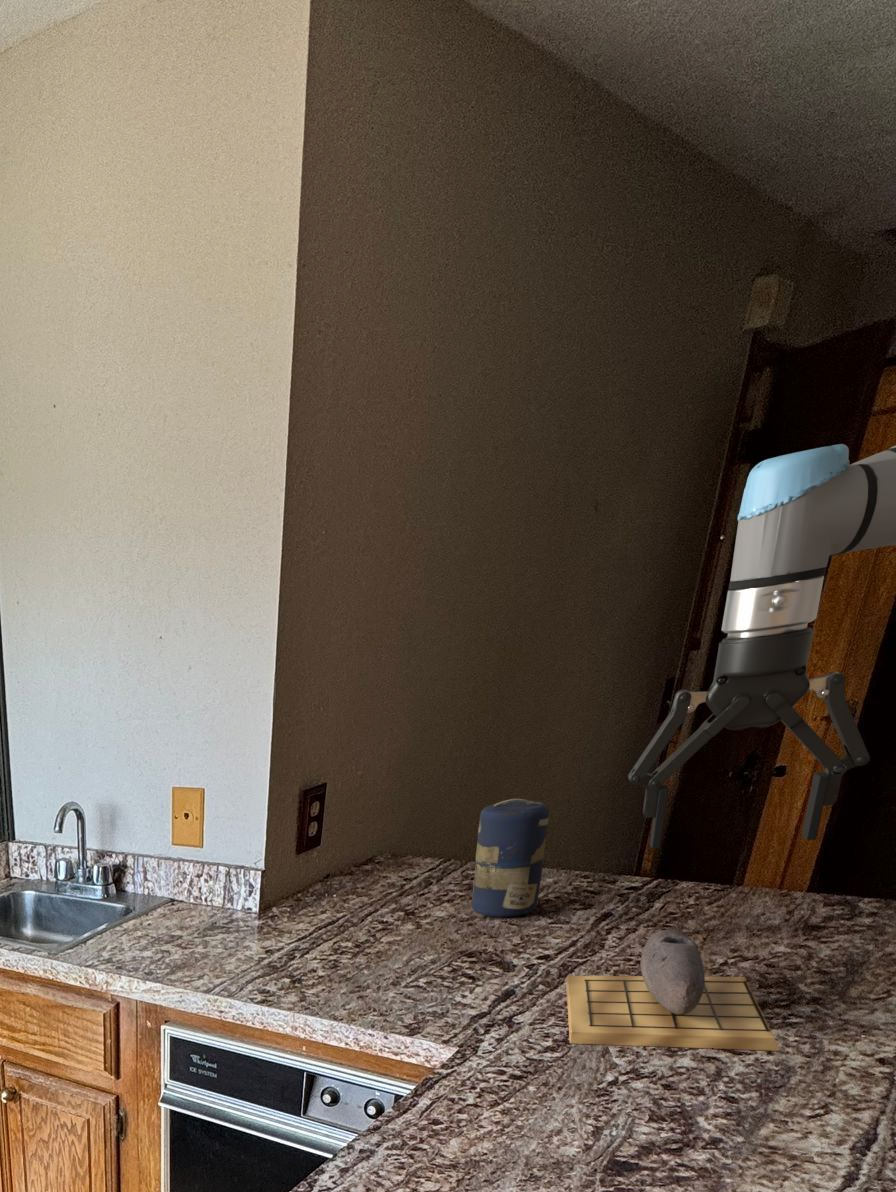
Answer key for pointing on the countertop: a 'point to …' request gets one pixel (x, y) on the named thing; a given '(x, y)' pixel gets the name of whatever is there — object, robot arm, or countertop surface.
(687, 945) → the perforated stone tool
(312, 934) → the countertop surface
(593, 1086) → the countertop surface
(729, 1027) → the board
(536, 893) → the canister
